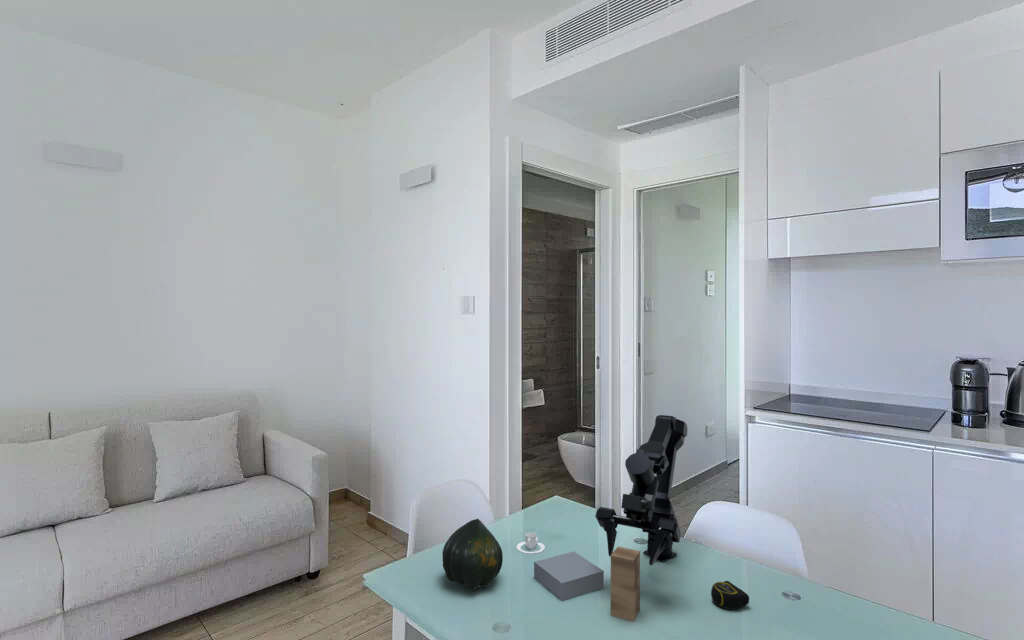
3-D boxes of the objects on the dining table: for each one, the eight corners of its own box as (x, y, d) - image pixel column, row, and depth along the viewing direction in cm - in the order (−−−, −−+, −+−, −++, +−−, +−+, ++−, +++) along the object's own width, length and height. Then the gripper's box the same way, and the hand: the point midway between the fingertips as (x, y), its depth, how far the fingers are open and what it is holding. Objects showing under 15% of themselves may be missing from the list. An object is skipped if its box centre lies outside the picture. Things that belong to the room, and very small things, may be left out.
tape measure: (750, 609, 117) (751, 592, 117) (725, 614, 115) (725, 597, 115) (729, 594, 124) (729, 578, 124) (704, 598, 122) (704, 582, 122)
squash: (444, 581, 118) (484, 522, 123) (423, 556, 132) (460, 504, 137) (488, 612, 123) (524, 554, 128) (463, 585, 136) (497, 534, 141)
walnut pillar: (617, 604, 119) (617, 546, 119) (639, 610, 117) (640, 551, 116) (610, 615, 115) (610, 555, 114) (633, 621, 112) (633, 560, 112)
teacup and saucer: (528, 539, 154) (528, 525, 154) (551, 546, 150) (551, 532, 150) (510, 550, 147) (510, 535, 147) (534, 557, 143) (534, 542, 143)
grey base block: (573, 566, 137) (573, 551, 137) (603, 587, 126) (603, 570, 126) (534, 578, 131) (534, 561, 131) (561, 600, 120) (561, 583, 120)
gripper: (598, 473, 127) (580, 535, 118) (678, 484, 118) (666, 553, 109) (608, 496, 134) (593, 557, 125) (684, 509, 125) (674, 575, 116)
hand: (629, 560), depth 118 cm, fingers open, 9 cm apart
